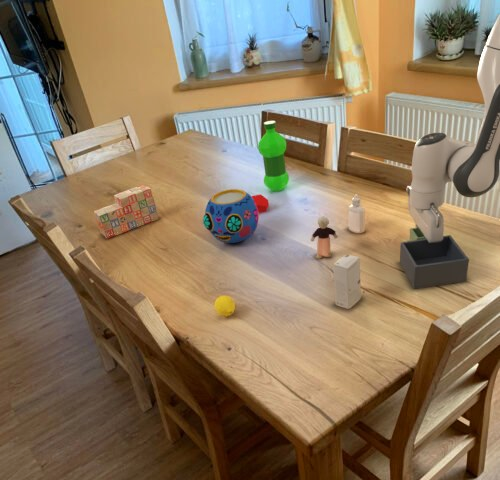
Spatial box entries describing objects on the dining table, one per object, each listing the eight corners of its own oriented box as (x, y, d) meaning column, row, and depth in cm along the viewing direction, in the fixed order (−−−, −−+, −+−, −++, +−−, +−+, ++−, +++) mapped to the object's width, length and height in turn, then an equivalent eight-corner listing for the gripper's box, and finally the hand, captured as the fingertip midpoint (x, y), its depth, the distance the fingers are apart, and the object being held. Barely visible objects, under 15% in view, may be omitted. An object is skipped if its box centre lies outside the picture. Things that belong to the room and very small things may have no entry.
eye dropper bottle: (352, 235, 156) (351, 199, 149) (347, 227, 160) (346, 192, 153) (365, 232, 156) (365, 196, 149) (361, 225, 160) (360, 189, 153)
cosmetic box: (349, 310, 126) (348, 269, 118) (334, 305, 128) (332, 264, 121) (361, 297, 129) (361, 257, 122) (347, 293, 132) (345, 253, 124)
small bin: (430, 240, 146) (432, 225, 143) (438, 250, 141) (439, 235, 138) (409, 243, 147) (409, 228, 144) (415, 254, 142) (416, 238, 139)
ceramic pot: (200, 249, 164) (190, 207, 155) (225, 224, 176) (217, 184, 167) (248, 254, 157) (240, 210, 147) (270, 228, 168) (264, 185, 159)
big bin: (447, 256, 138) (450, 234, 134) (466, 281, 128) (469, 259, 124) (399, 263, 139) (400, 242, 135) (413, 289, 129) (415, 267, 125)
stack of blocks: (107, 239, 181) (95, 208, 173) (101, 234, 185) (90, 203, 178) (159, 218, 189) (150, 187, 181) (152, 214, 193) (143, 183, 185)
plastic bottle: (292, 182, 197) (285, 116, 182) (287, 193, 189) (280, 125, 174) (267, 183, 200) (259, 119, 184) (262, 194, 192) (253, 128, 176)
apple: (272, 192, 179) (250, 186, 178) (270, 203, 174) (247, 198, 174) (268, 207, 184) (247, 202, 184) (265, 218, 180) (244, 213, 179)
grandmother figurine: (314, 261, 147) (311, 222, 139) (311, 255, 150) (308, 216, 142) (339, 255, 147) (338, 216, 140) (336, 250, 150) (334, 211, 143)
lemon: (212, 311, 134) (208, 295, 131) (230, 304, 136) (227, 288, 132) (222, 324, 129) (218, 307, 126) (241, 316, 130) (238, 300, 127)
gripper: (452, 210, 126) (447, 258, 135) (427, 181, 142) (423, 225, 151) (427, 214, 127) (423, 261, 135) (404, 184, 143) (403, 228, 151)
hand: (423, 242), depth 143 cm, fingers closed on small bin, 6 cm apart
